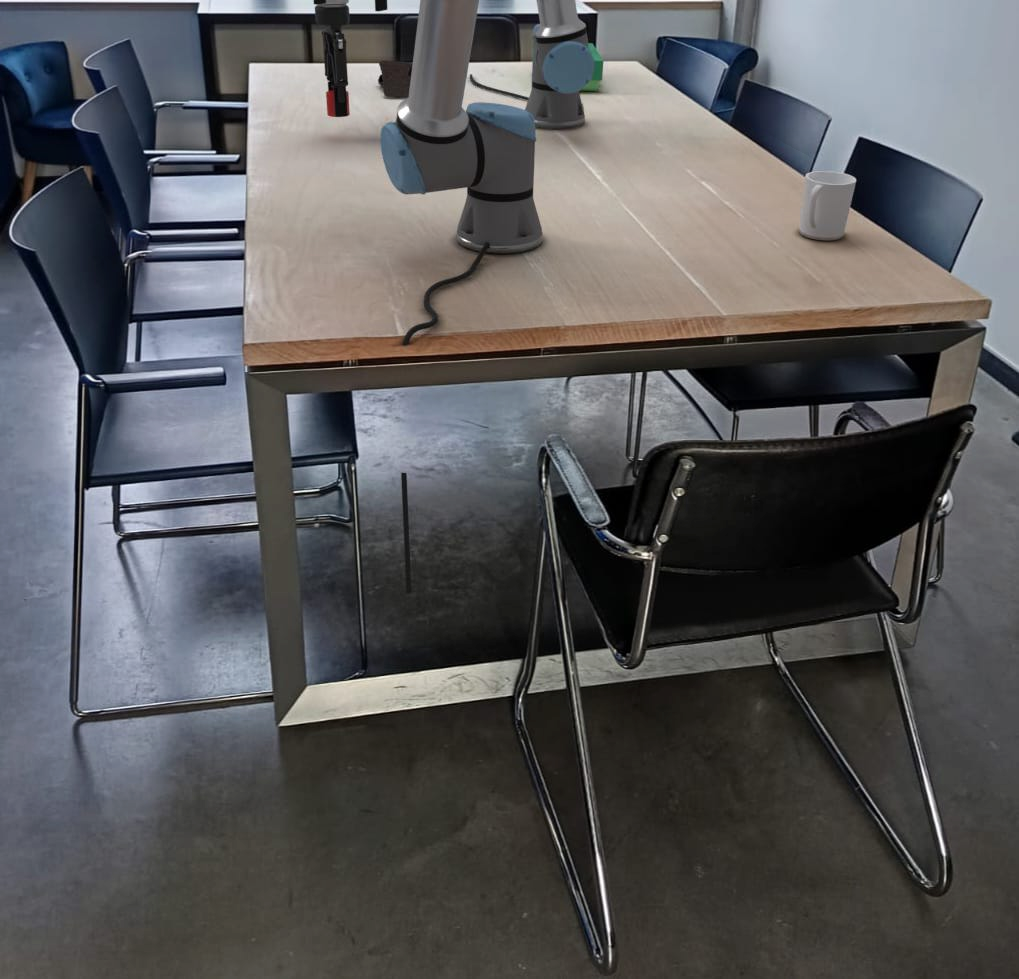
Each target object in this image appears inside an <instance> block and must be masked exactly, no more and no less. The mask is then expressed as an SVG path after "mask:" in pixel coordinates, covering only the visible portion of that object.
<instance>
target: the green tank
mask: <svg viewBox="0 0 1019 979" xmlns="http://www.w3.org/2000/svg"><path fill="white" fill-rule="evenodd" d="M531 44H532V45H531V47H532V48H531V63H532V62H533V43H531ZM588 45H589V50H590V51H591V53H592V56H593V58H594V71H593V75H592V77H591V79H590V81H589V82H588V84H587V85H586V86H585V87H584V88H582V89H581V90H580V91H582V92H583V91H585V92H586V91H587V92H589V91H595V92H598V91H599V88H600V87H599V86H600V81H601V82H603V73H604V60H603V58H602V56H601V54H600V53H599V52H598V50H597V48H596V46H595V45H594V43H591V42H588Z"/></svg>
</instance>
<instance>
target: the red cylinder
mask: <svg viewBox="0 0 1019 979" xmlns="http://www.w3.org/2000/svg"><path fill="white" fill-rule="evenodd" d="M349 96H350V94H349V91H348V90H346V97H347V114H348V116H350V111H351V110H350V97H349ZM325 100H326V113H327V116H328V117H331V118H336V117H335V104H334V90H330V91H328V90H327V91H325ZM348 116H347V117H348Z"/></svg>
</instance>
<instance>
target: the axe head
mask: <svg viewBox="0 0 1019 979" xmlns="http://www.w3.org/2000/svg"><path fill="white" fill-rule="evenodd" d="M378 66H379V68H380V72H381V74H379V75H378V79H377V84H378V85H379V86H380V87H381V88H382V89H383V95H384V96H385V97H388V98H394V99H395V98H396V99H403V98H404V99H407V98H408V97H409V90H410V82H411V74H412V66H413V62H410V61H408V62H407V61H397V60H388V59H387V60H380V61H379V62H378Z"/></svg>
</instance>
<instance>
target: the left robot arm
mask: <svg viewBox="0 0 1019 979" xmlns="http://www.w3.org/2000/svg"><path fill="white" fill-rule="evenodd" d="M323 3H326V0H313V5H315V6H316V5H318V4H323ZM479 4H480V0H420V1H419V8H418V15H417V16H418V17H417V26H416V33H415V42H414V49H413V59H412V60H413V61H412V63H413V66H412V74H411V82H410V90H409V97H408V98H404V99H403V100H402V101H401V102H400V103H399V104H398V106H397V112H396V120H395V122H394V121H389V122H387V123H384V125H383V126H382V127H381V130H380V136H379V137H380V141H379V142H380V151H381V156H382V160H383V164H384V168H385V171H386V173H387V175H388V178H389V180H390V182H391V183H392V185H393V187H394V188H395V189H396V190H397V191H398V193H401V194H403V195H419V194H420V195H426V194H427V193H428V194H429V193H436V192H443V191H451V190H458V189H465V188H466V192H467V193H466V198H465V202H464V205H463V209H462V211H461V214H460V218H459V220H458V224H457V228H456V241H457V243H458V244H459V245H461V246H462V247H464V248H466V249H468V250H470V251H475V252H478V254H477V256H476V258H474V260H473V262H472V264H471V266H470V268H469V269H468V270H466V271H464V273H462V274H459V275H456V276H452V277H449V278H446V279H442V280H439V281H438V282H435V283H433V284H432V285H431V286H429V288H428V289H427V290H426V291H425V293H424V296H423V306H424V309H425V310H426V311H427V312H428V314H430V316H431V320H430V321H428V322H427V321H426V322H422V323H417V324H416V325H414V326H412V327H410V329H409V330H408V331H407V332H406V334H405V335H404V337H403V339H402V342H401V346H403V347H404V346H408V345H409V343H410V340H411V339H412V337H413V335H414V334H416V333H417V332H419V331H422V330H426V329H430V328H432V327H434V326H436V324H437V323H438V321H439V317H438V316H439V315H438V313H437V312H436V310H434V308H433V307H432V306H431V305H430V304H431V303H430V298H431V296H432V294H433V293H434V292H435V291H436V290H438V289H439V288H442V287H444V286H448V285H451V284H454V283H458V282H461V281H463V280H465V279H467V278H469V277H470V276H471V275H473V274H474V272H476V269H477V267H478V266H479V265H480V263H481V261H482V260H483V257H484V256H485V254H497V255H499V254H500V255H506V254H507V255H508V254H517V253H524V252H527V251H530V250H533V249H536V248H538V247H539V246H540V245H541V244H542V243H543V229H542V224H541V221H540V220H541V219H540V218H539V214H538V213H539V212H538V210H537V206H536V204H535V199H534V184H535V181H534V180H535V157H536V156H535V154H536V152H535V151H536V142H537V137H536V136H537V135H536V127H535V120H534V118H533V116H532V115H531V114H530V113H529V112H528V111H526V110H525V109H523V108H521V107H517V106H514V105H510V104H509V105H508V104H503V103H495V102H486V101H485V102H484V101H483V102H481V101H479V102H477V101H476V102H472V103H469V104H468V105H467V106H466V109H464V108H463V103H464V96H465V89H466V84H467V79H468V78H467V77H468V72H469V67H470V66H469V65H470V58H471V51H472V47H473V40H474V34H475V29H476V22H477V16H478V9H479ZM387 10H388V0H374V11H375V12H377V13H378V12H383V11H387ZM400 474H401V475H400V478H401V480H400V481H401V502H402V504H401V505H402V523H403V524H402V525H403V545H404V546H403V547H404V571H405V572H404V574H405V593H406V594H407V595H410V594H412V574H411V571H412V570H411V546H410V522H409V521H410V520H409V499H408V496H409V495H408V473H407V472H400Z"/></svg>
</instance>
